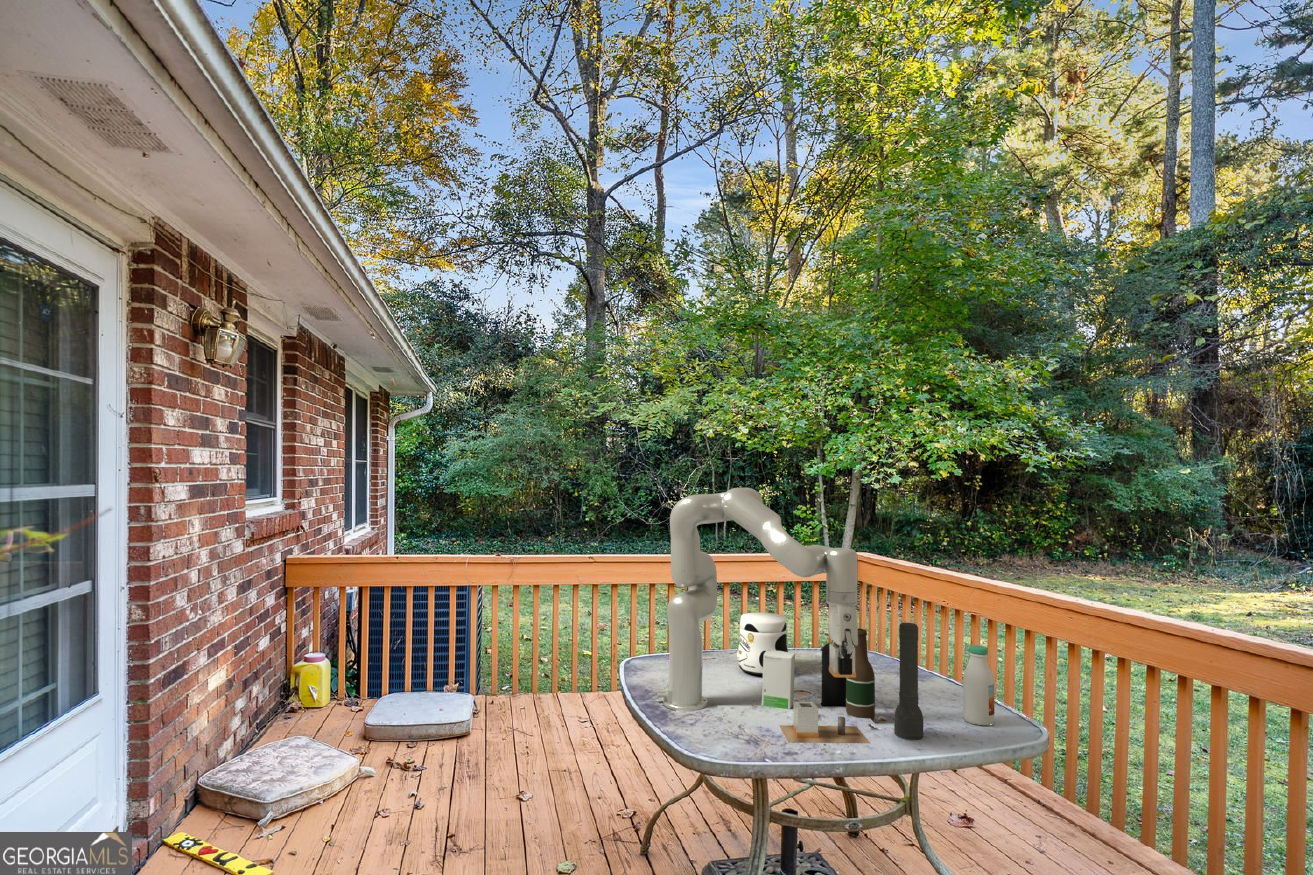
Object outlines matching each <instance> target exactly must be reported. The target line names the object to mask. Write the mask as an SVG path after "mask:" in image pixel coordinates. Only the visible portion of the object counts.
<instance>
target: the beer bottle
mask: <svg viewBox="0 0 1313 875" xmlns="http://www.w3.org/2000/svg"><path fill="white" fill-rule="evenodd" d="M857 628H858V627H857ZM867 635H868V631H867V629H865V628H858V645H857V646H854V645H853V647H854V648H855V672H856V677H846V707H845V711H846V714H847V715H848V716H851V717H854V718H855V719H856V718H857V719H870V720H871V721H872V722H875V719H876V718H875V716H876V708H875V707H876V679H875V678H876V677H875V671H874V668H873V666H872V664H871V662H870V661H869V656H868V645H867V644H868V642H867V641H868V640H867V639H868V638H867Z"/></svg>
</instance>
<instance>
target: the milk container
mask: <svg viewBox="0 0 1313 875" xmlns="http://www.w3.org/2000/svg"><path fill="white" fill-rule="evenodd" d="M739 619H740V620H739V621H740V622H739V644H738V648H737V652H736V660H737V666H738V667H739V668H740V670H742V671H743V672H745V673H747V674H752V675H757V676H763V657H764V653H765V652H766V651H767V649H769V650H776V651H784V652H789V649H788V644H787V640H788V630H787V618H786V616H785V615H781V614H777V613H774V612H773V613H772V612H756V611H755V612H747V613H743V614H742V615H740V618H739Z"/></svg>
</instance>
